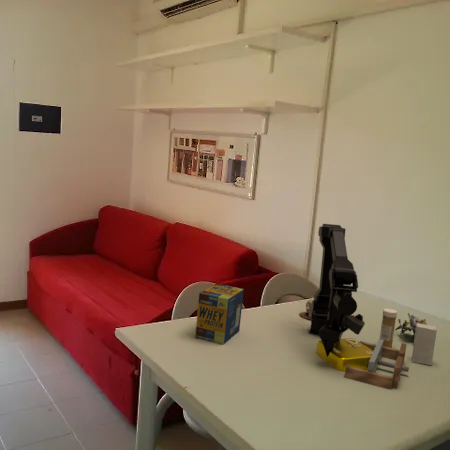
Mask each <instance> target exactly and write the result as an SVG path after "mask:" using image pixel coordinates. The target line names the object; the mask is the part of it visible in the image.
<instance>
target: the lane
mask: <svg viewBox="0 0 450 450" xmlns="http://www.w3.org/2000/svg"><path fill="white" fill-rule="evenodd" d="M359 342H360V343H362V344H363V345H365V346H367V347H368V348H370V349H371V350H373V351H374V349H375V347H376V345H377V343H376V344H375V343H372V342H367V341H362V340H360V341H359ZM406 349H407V343H402V342H401V343H400V348H399V349H397V348H393V347H392V348H389V347H384V346H383V349H382V356H381V358H382V357H383V358H387V359H392V360H395V363H394V364H395V367H394V368H393V373H392V376H390V375H387V374H382V373H378V372H376V371H375V372H371V371H368V369H365V370H363V369H359V368H355V367H351V366H346V370H345V371H344V378H346V379H350V380H354V381H360V382H362V383H367V384H370V385H373V386H378V387H381V388H386V389H389V390H392V388H394V389H398V386H399V383H400V379H401V374H402V370H401V368H402V366H404V364H405V358H406V351H407V350H406Z"/></svg>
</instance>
